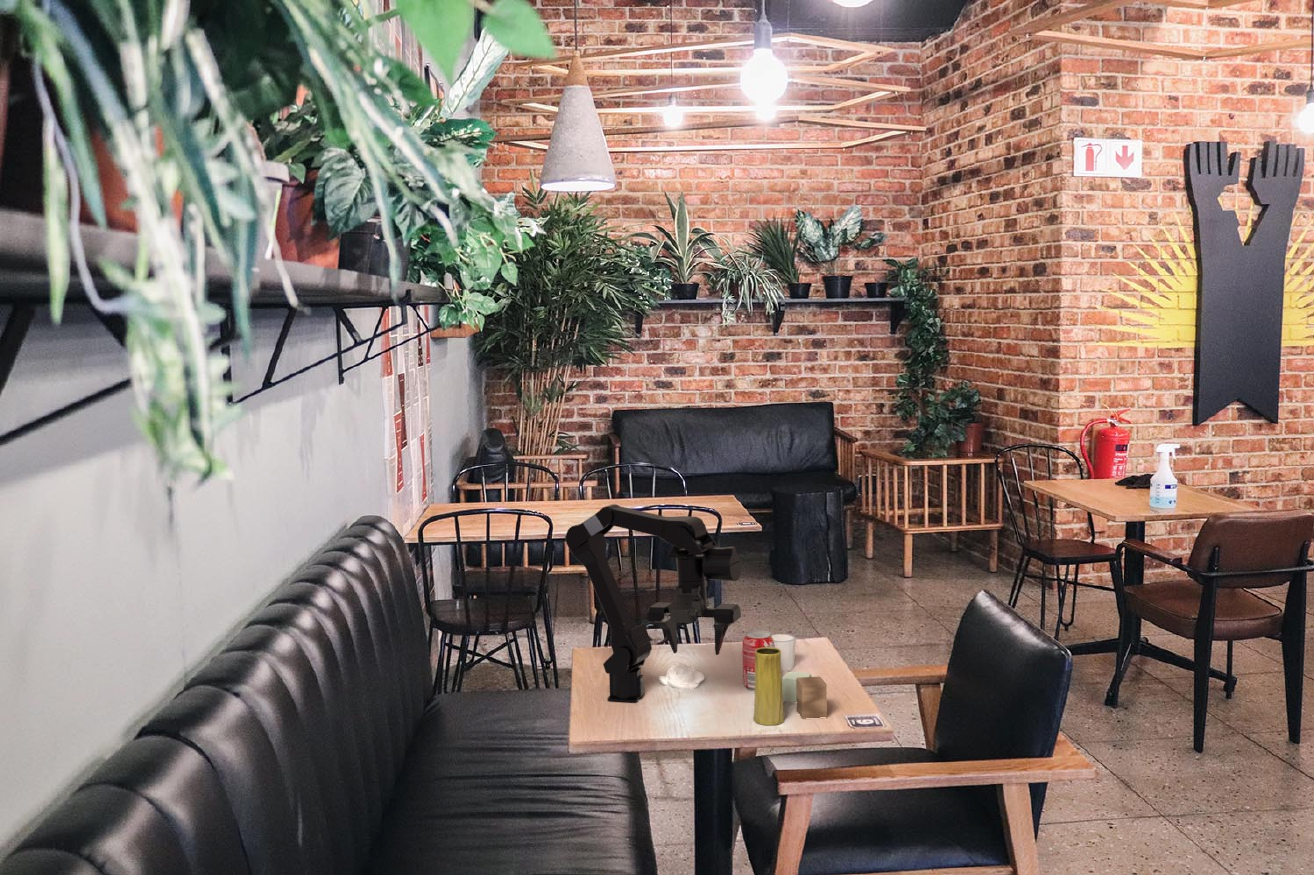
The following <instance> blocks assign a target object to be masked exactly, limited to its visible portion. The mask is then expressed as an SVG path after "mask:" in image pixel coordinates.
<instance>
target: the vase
mask: <svg viewBox="0 0 1314 875" xmlns="http://www.w3.org/2000/svg"><path fill="white" fill-rule="evenodd" d="M782 678H783V676H782V671H781V650H780V649H778V648H773V647H762V648H758V649H756V650H755V690H754V704H753V706H754V710H753V721H754V722H755V723H756V724H759V725H761V726H778V725H780V724H782V723H783V722H784V721H785V716H784V701H783V695H782Z"/></svg>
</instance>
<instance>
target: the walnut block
mask: <svg viewBox="0 0 1314 875" xmlns="http://www.w3.org/2000/svg"><path fill="white" fill-rule="evenodd" d="M827 687H828V685H827V683H826V682H825V681H824V679H823V678H822V677H821V676H811V677H802V678H796V701H797V703H796V712H797V714H798V715H799V714H800V715H799V717H800V716H801V717H800V718H801V719H803V720H807V719H806V718H820V717H827V718H828V711H827V709H828V707H827V706H828V704H827V703H828V702H827V701H828V699H827V698H828V697H827V692H828V691H827V690H828V689H827ZM820 719H821V718H820Z"/></svg>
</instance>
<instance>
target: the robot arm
mask: <svg viewBox="0 0 1314 875" xmlns="http://www.w3.org/2000/svg"><path fill="white" fill-rule="evenodd" d="M614 527H616V528H617V527H618V528H621V529H625V530H630V531H634V532H638V533H643V534H646V535H647V534H648V535H652V536H655V537H658V538H660V539H662V540H663V541H664V542H666V543H667V544H669V545H671V546H672V548H671V550H670V551H669V552H668V553H667V554H666V555H665V557H666V558H667V559H676V560H675V562H676V572H677V574H676V575H677V577H676V578H677V585H676V586H675V595H674V596H675V597H674V598H673V599H672V601H671V602H660V601H658V602H655V603H654V604H653V605H650V606H649V607H648V609H647V612H646V616H647V618H646V619H647V621H648V622H653V625H655V626H658V627H659V628H660V629H662V631H663V632H664V635H665V636H666V638H667V642H668V643H669V646H670V648H671V651H672V652H673V654H677V653H678V632H677V623H685V624H692V623H693V622H694V621H695V618H713V620H714V621H715V623H714V624H713V625H712V626H713V629H714V651H715V652H714V654H715V655H716V656H718V655H720V652H721V648H722V646H723V642H724V638H725V636H726V633H727V631H728V628H729V627H730V626H731V625H732V624H735V622H737V621H738V620H739V619H741V617H742V612H741V607H740V606H739V605H738V603H720V605H718V606H716V607H714V608H713V607H712V608H711V607H708V606H710V605H709V603H710V601H709V600H707V598H708V597H707V596H708V595H707V587H708V586H709V585H708V581H707V580H706V578H707V579H708V580H710V581H722V582H723V581H724V582H725V581H726V582H728V581H729V582H738V581H739V579H740V577H741V575H742V567H743V566H742V565H743V564H742V560H741V557H740V556H739V554H738V553H737V548H736V546H727V547H723V546H722V547H719V545H718V544H717V542H716V541H715V539H714V538H713V537H712V535H711V534H710V533H709V531H708V529H707V526H706V524H705V523H704V521H703V519H702V518H700V517H698V516H691V515H689V516H688V515H687V516H686V515H685V516H684V515H678V516H664V515H659V514H656V513H650V512H647V511H642V510H637V509H633V508H628V507H624V506H621V505H618V504H610V505H606V506H604V507H601V508H600V510H598V511H597V512H595V514H593V515H592V516H590V517H588V518H587V519H585V520H584V521H582V522H581V523H578V524H575V525H572V526H571V527H568V529H567V531H566V534H565V537H564V539H565V544H566V545H567V547H568V549H569V551H570V553H571V554H572V556H573V557H574V558H575V559H576V560H577V561H578V562H579V563H580V564H581V565H582V566H584V568H585V570H586V572H587V575H588V577H589V579H590V581H591V585H592V587H593V588H594V592H595V594H596V596H597V598H598V601H599V603H600V606H601V608H602V610H603V612H604V615H605V618H606V620H607V623H608V624H609V628H610V645H611V647H610V648H611V649H612V650H611V651H612V654H611V655H610V657H608V658H606V660H605V661H604V663H603V664H602V665H603V669H604V671H605V674H608V676H609V679H608V680H609V696H608V697H607V701H608V702H609V701H610V702H622V703H623V702H624V703H625V702H626V703H637V702H638V701H639V700H640V698H641V697H643V694H644V693H645V689H644V686H645V685H644V684H645V683H644V675H643V674H642V666H644V665H645V663H646V662H645V661H646V660H647V658H648V657H649V656H650V655H651V653H652V652H651V651H652V650H653V647H652V643H651V642H652V641H653V639H652V637H651V636H650V635H649V633H648V630H647V629H648V628H647V626H646V624H645V623H641V624H638V623H637V622H635V620H634V619H632V617H631V615H630V612H629V609H628V606H627V604H626V602H625V600H624V597H623V596H622V592H621V590H620V589H619V586H618V584H617V581H616V579H615V576H614V574H613V572H612V569H611V567H610V565H609V563H608V559H607V541H606V538H605V535H606V534H608V533H609V532H610V531H611V530H612V529H614Z"/></svg>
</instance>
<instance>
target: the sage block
mask: <svg viewBox="0 0 1314 875" xmlns="http://www.w3.org/2000/svg"><path fill="white" fill-rule="evenodd" d="M802 677H812V673H808V672H799V671H791V670H788V671H787V673H785V675H783V676H782V695H783V702H786V701H789V703H795V704H797V703H796V702H797V701H796V678H802Z"/></svg>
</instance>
